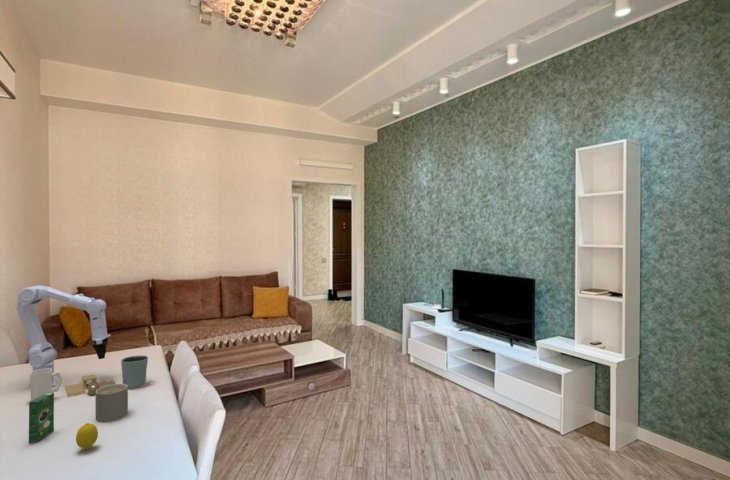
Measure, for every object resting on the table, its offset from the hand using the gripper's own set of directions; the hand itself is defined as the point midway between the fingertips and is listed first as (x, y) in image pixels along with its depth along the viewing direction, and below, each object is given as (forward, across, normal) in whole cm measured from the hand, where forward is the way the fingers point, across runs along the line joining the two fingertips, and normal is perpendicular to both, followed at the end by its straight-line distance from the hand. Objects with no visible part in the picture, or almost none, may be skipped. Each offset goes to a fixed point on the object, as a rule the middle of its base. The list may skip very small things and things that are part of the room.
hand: (102, 356), depth 177 cm
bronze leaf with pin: (+12, -9, +1) cm, 15 cm away
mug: (+10, -12, +19) cm, 25 cm away
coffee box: (+12, -48, +16) cm, 51 cm away
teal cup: (+13, -12, -11) cm, 21 cm away
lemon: (+14, -64, +2) cm, 66 cm away
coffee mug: (+13, -40, -3) cm, 42 cm away
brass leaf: (+11, -5, +8) cm, 15 cm away
